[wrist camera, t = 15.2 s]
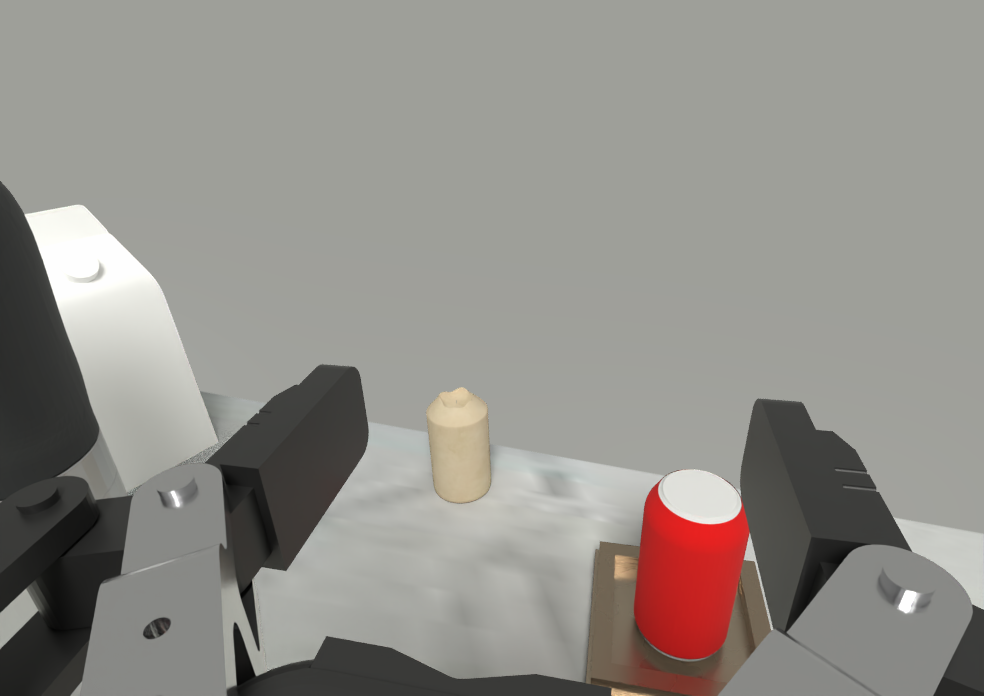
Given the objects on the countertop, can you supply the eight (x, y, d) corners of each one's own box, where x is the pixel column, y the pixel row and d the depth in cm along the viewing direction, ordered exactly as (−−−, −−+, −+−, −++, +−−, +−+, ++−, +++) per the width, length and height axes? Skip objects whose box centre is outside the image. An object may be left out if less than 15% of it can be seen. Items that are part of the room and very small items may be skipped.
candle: (424, 497, 54) (414, 407, 50) (447, 462, 59) (440, 376, 54) (479, 509, 53) (474, 417, 48) (498, 472, 57) (495, 384, 53)
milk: (165, 411, 70) (89, 192, 58) (218, 442, 63) (146, 204, 52) (52, 464, 61) (-63, 220, 49) (102, 505, 55) (-16, 238, 43)
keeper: (584, 703, 37) (585, 680, 36) (595, 558, 47) (596, 538, 46) (789, 741, 34) (797, 719, 33) (752, 579, 44) (758, 559, 43)
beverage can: (629, 658, 38) (644, 519, 33) (634, 583, 43) (648, 454, 38) (728, 680, 36) (761, 538, 31) (721, 600, 42) (749, 467, 36)
